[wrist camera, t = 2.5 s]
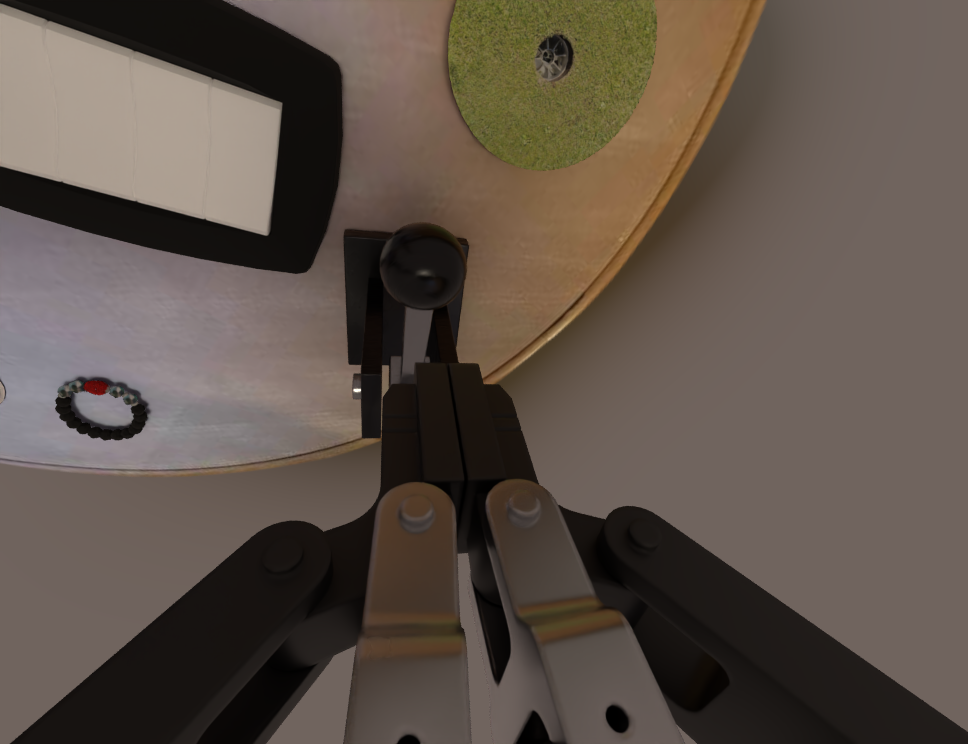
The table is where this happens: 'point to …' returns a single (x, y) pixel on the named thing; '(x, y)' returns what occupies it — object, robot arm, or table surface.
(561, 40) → the mat
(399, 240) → the switch lever
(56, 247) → the table surface
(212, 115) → the light switch
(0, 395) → the chess piece
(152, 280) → the table surface
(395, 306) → the switch bracket
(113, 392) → the bracelet
